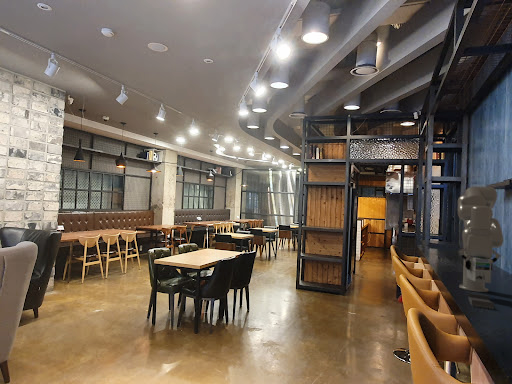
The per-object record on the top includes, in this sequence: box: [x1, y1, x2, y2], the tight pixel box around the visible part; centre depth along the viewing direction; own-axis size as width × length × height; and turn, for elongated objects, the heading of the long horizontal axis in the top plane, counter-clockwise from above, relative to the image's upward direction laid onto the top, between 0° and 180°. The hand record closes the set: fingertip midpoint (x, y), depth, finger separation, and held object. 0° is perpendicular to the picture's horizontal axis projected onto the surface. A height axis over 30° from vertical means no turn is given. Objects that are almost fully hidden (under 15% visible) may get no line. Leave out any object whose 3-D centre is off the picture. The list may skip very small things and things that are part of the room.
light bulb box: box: [467, 257, 492, 284], centre depth 164 cm, size 11×7×11 cm, turn 168°
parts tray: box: [468, 292, 495, 310], centre depth 150 cm, size 15×8×3 cm, turn 153°
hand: (478, 270), depth 164 cm, fingers closed on light bulb box, 7 cm apart
